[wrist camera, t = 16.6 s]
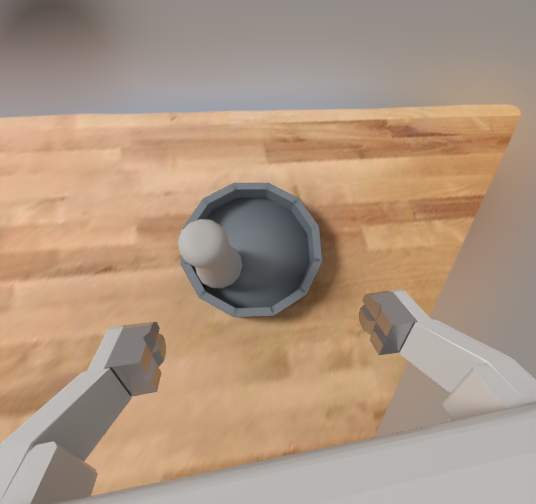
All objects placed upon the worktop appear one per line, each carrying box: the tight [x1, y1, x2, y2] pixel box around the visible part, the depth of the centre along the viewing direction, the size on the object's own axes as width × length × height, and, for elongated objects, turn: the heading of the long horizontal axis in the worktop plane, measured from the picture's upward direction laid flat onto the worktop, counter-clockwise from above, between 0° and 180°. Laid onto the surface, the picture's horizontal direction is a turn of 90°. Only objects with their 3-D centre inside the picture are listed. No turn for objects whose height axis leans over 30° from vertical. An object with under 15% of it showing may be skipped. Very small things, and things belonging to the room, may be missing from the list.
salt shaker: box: [178, 219, 242, 288], centre depth 26 cm, size 6×6×13 cm
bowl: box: [181, 183, 322, 317], centre depth 32 cm, size 18×18×4 cm
